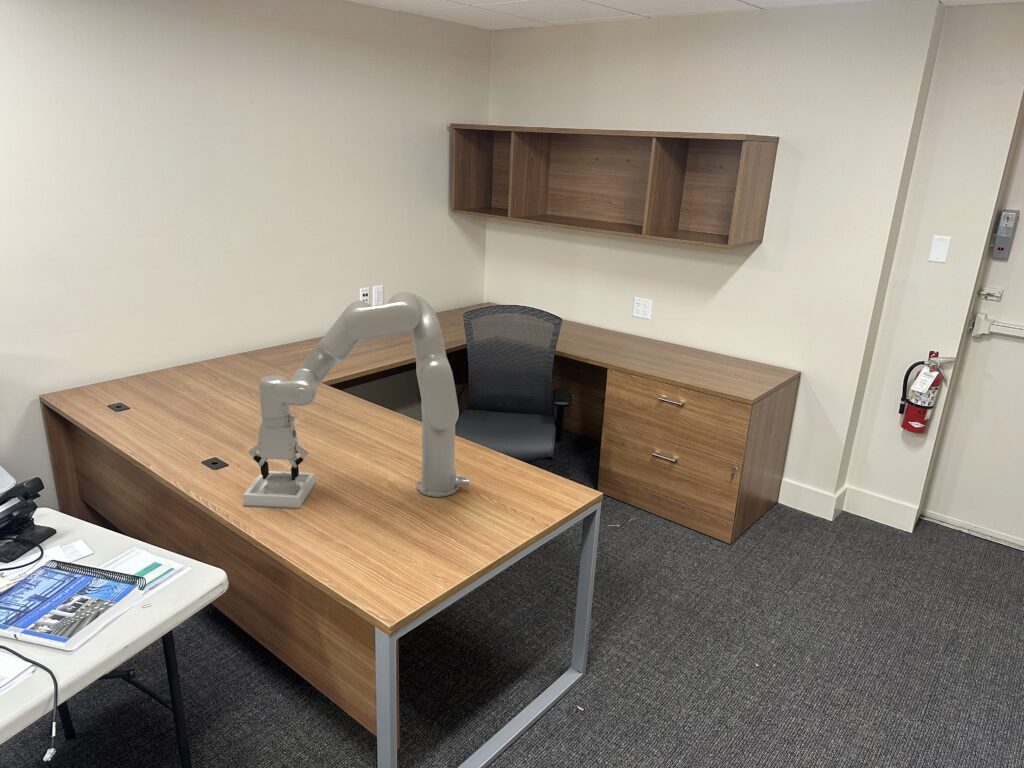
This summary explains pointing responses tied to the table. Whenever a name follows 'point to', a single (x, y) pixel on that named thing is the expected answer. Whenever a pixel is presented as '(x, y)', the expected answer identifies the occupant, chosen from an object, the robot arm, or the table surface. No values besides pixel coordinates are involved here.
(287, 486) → the mechanical component
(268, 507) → the grey flat plate
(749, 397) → the table surface
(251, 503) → the tray
